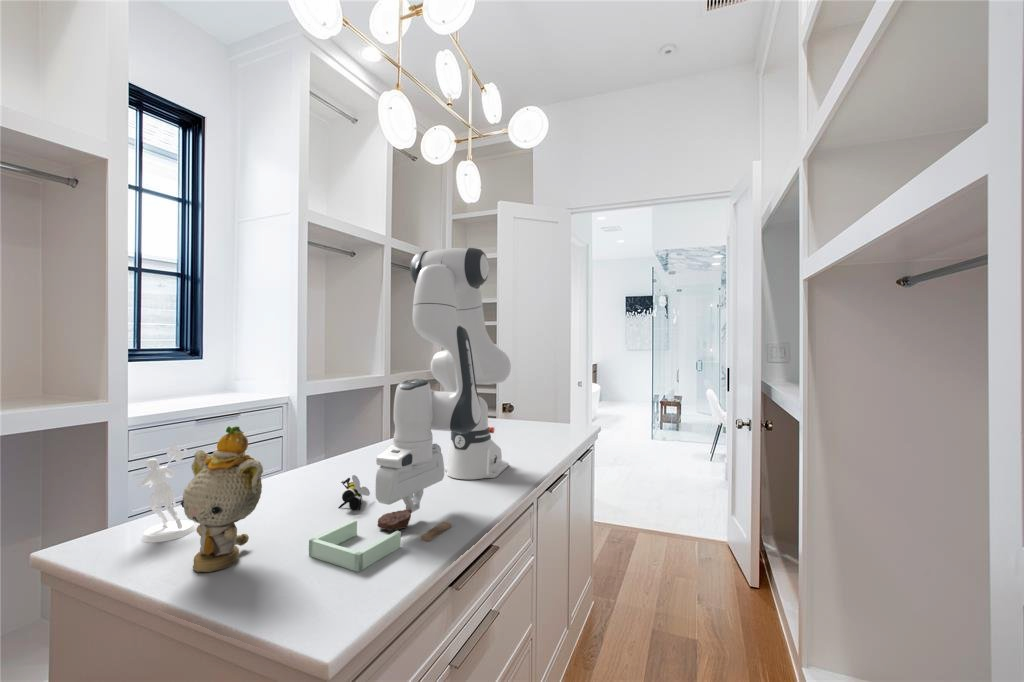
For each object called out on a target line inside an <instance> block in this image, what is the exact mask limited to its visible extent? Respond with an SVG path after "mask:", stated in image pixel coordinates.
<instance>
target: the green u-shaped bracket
mask: <svg viewBox="0 0 1024 682" xmlns="http://www.w3.org/2000/svg"><path fill="white" fill-rule="evenodd" d="M357 535H358V520H357V519H352V520H350V521H347V522H346V523H343V524H341V525H339V526H337V527H335V528H332V529H331V530H328V531H326V532H324V533H321V534H320V535H317V536H315V537H313V538H311V539H308V557H311V558H314V559H318V560H321V561H323V562H327V563H330V564H333V565H336V566H339V567H342V568H345V569H348V570H351V571H354V572H357V573H359V572H361V571H363V570H365V569H366V568H368V567H369V566H371V565H372V564H375V563H376V562H378V561H379V560H381V559H382V558H384V557H387V556H388V555H389V554H391V553H392V552H394V551H396V550H398V549H399V548H401V546H402V544H401V543H402V542H401V541H402V539H401V537H402V533H401V531H399V530H395V531H394V532H392V533H390V534H388V535H387V536H384V537H383V538H380V539H379V540H377V541H375V542H374V543H372V544H370V545H368V546H366V547H365V548H363V549H361V550H360V551H358V550H355V549H351V548H348V547H345V546H341V545H339V544H342V543H344V542H346V541H347V540H349V539H351V538H353V537H355V536H357Z"/></svg>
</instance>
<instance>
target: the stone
mask: <svg viewBox="0 0 1024 682" xmlns="http://www.w3.org/2000/svg"><path fill="white" fill-rule="evenodd" d="M411 515H412V513H411V511H410V510H409V509H406V508H405V509H403V510H397V511H391V512H387V513H384V514H383V515H382V516H380V517H379V518H377V519H378V520H377V527H378V528H380V529H381V530H387V531H394V530H395V531H399V530H401V529H403V528H408V527H409V523H410V521H411V517H412V516H411Z"/></svg>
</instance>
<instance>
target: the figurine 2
mask: <svg viewBox="0 0 1024 682" xmlns="http://www.w3.org/2000/svg"><path fill="white" fill-rule="evenodd" d="M225 432H226V434H224V435H223V436H221V438H219V440H218V441H217V445H216V448H217V449H216V450H214V451H213V452H212V455H211V454H209V453H207V452H206V451H204V450H202V449H198V450H197V451H196V452H195V453H194V455H193V457H194V459H193V462H192V464H191V471H192V473H193V477H192V479H191V480H190V481H189V482H188V484H187V486H186V487H185V488H184V489H183V493H182V501H181V502H180V505H181V507H182V508H183V511H184V515H185V516H186V517H187V519H188V520H189V521H192V522H193V523H197V524H199V525H197V526H196V529H195V531H196V533H197V534H198V536H199V537H200V539H199V540H200V541H199V542H200V548H199V551H198V552H197V553H196V554H195V555H194V557H193V565H192V569H193V570H194V571H195V572H197V573H198V572H199V573H210V572H216V571H220V570H224V569H228V568H230V567H232V566H234V565H236V564H237V563H238V562H239V560H240V558H239V557H240V556H239V553H240V549H239V548H238V546H240V547H241V546H244V545H245V544H247V543H248V541H249V538H250V537H249V535H248V534H247V533H242V534H240V535H239V534H238V528H237V526H236V524H235V523H237V522H239V521H241V520H245V519H246V518H247V517H248V516H249V515H251V514H252V513H253V512H254V511H255V509H256V508H257V505H258V504H259V502H260V499H261V495H262V493H263V489H262V488H263V483H262V474H264V469H263V465H262V463H261V461H259V460H256V459H255V458H253V457H251V456H250V455H249V454H246V451H247V449H248V448H249V441H248V437H247V436H246V434H244V431H242V430H241V428H240V426H233V427H231V426H227V428H226V430H225Z"/></svg>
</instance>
